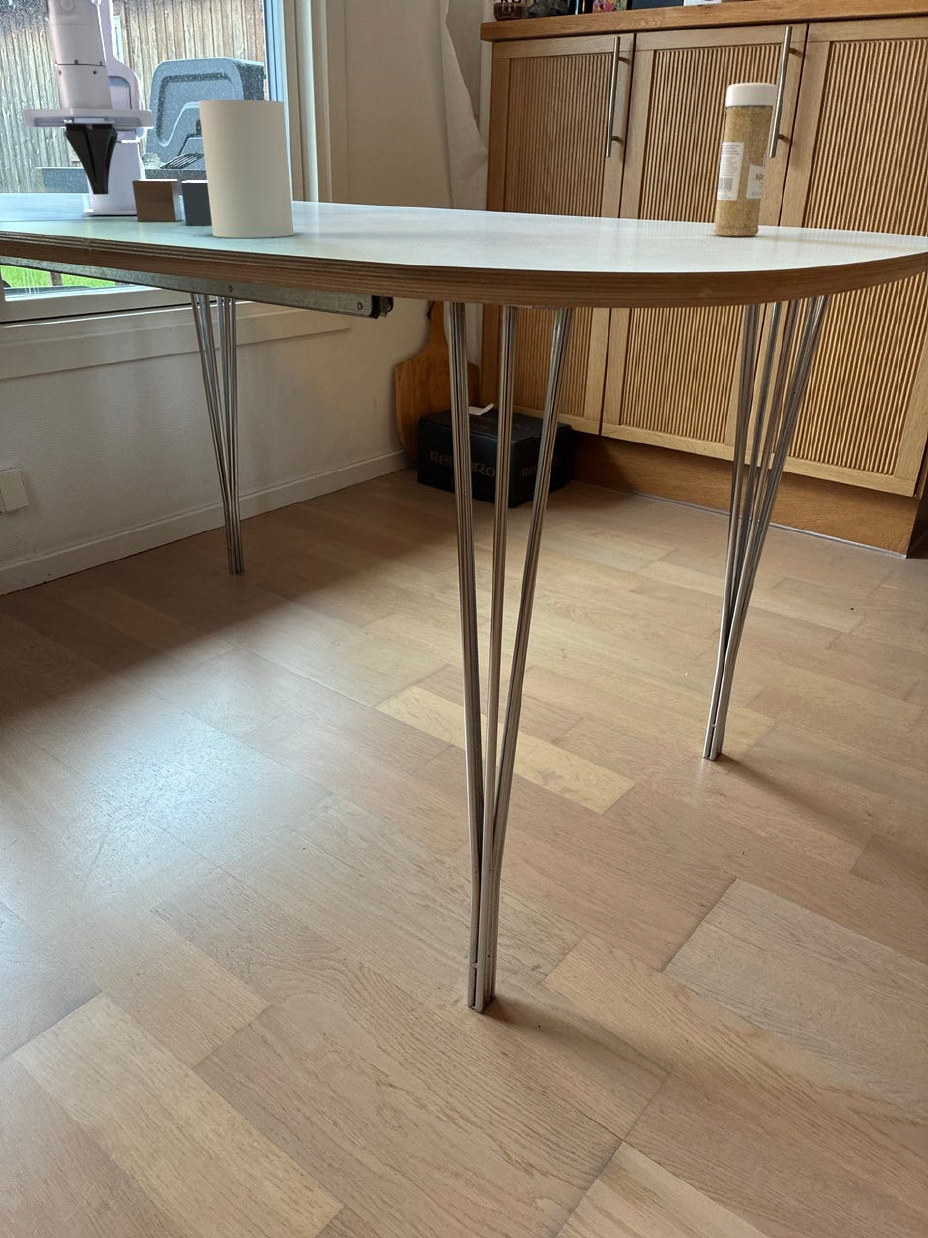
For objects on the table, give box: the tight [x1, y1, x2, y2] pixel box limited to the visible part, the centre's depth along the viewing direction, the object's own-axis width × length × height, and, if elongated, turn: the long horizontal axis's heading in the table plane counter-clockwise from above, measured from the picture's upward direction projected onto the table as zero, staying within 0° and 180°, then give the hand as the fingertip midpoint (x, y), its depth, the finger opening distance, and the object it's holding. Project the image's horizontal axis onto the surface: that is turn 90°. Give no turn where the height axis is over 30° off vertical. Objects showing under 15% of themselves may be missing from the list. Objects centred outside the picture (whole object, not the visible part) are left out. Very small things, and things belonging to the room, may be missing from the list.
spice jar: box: [712, 82, 777, 237], centre depth 93 cm, size 5×5×13 cm
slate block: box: [180, 180, 212, 226], centre depth 111 cm, size 5×5×5 cm
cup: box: [198, 99, 294, 239], centre depth 94 cm, size 8×8×12 cm
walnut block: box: [132, 179, 183, 223], centre depth 117 cm, size 5×5×5 cm
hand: (101, 194), depth 116 cm, fingers closed
